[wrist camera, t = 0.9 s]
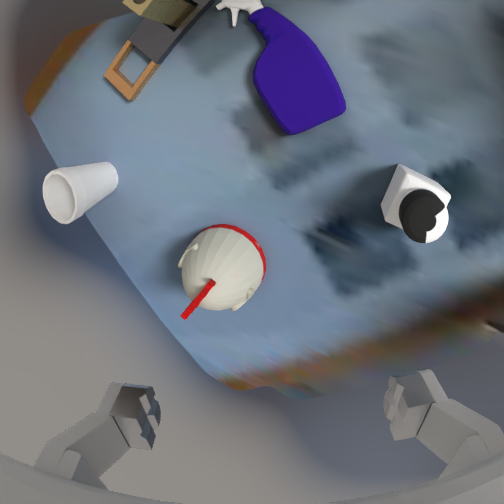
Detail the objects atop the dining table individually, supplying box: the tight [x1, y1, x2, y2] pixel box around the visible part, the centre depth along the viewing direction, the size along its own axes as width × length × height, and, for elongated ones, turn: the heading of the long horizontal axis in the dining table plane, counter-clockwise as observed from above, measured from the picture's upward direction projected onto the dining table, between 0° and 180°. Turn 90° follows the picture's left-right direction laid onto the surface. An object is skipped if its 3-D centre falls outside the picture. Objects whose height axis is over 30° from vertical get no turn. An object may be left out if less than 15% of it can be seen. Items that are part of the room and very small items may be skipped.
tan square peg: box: [122, 0, 196, 28], centre depth 35 cm, size 4×4×11 cm
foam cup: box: [43, 162, 118, 224], centre depth 52 cm, size 10×9×13 cm
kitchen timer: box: [178, 224, 266, 320], centre depth 51 cm, size 14×14×15 cm
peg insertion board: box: [104, 0, 215, 100], centre depth 42 cm, size 22×8×2 cm, turn 136°
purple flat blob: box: [216, 0, 346, 135], centre depth 39 cm, size 3×11×24 cm
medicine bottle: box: [381, 164, 451, 243], centre depth 38 cm, size 7×7×12 cm
